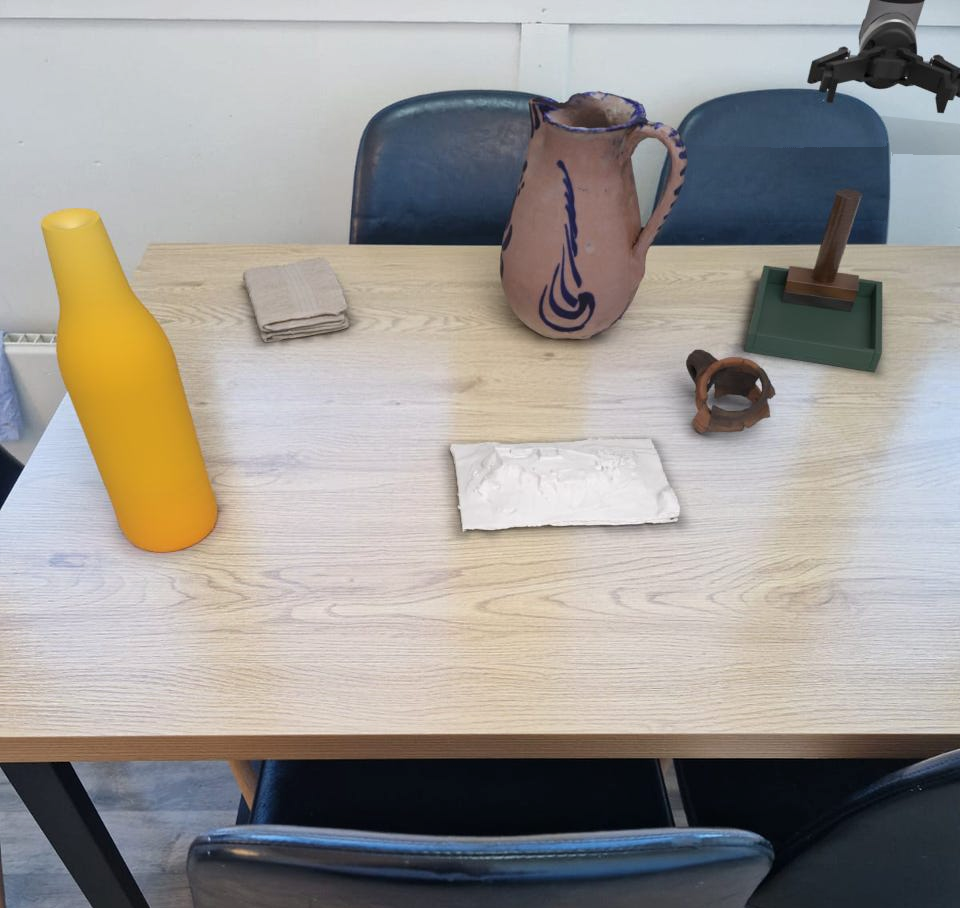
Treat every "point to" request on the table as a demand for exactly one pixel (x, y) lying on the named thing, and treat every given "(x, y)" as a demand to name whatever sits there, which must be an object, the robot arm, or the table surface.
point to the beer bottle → (126, 390)
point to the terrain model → (562, 484)
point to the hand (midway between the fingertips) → (888, 95)
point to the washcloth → (296, 299)
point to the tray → (817, 326)
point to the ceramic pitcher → (582, 214)
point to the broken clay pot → (728, 391)
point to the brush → (828, 263)
